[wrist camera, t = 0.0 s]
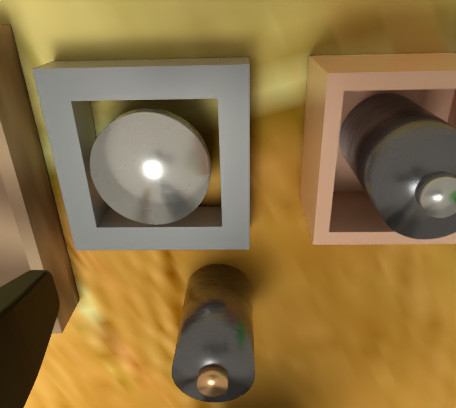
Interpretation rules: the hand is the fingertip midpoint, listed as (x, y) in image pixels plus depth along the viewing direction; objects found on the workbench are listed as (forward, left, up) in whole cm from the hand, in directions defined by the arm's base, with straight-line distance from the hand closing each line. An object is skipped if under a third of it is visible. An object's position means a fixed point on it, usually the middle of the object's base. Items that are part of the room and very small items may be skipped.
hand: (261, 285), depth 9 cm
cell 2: (-1, -7, -14) cm, 16 cm away
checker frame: (-2, +5, -15) cm, 16 cm away
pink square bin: (-1, -7, -15) cm, 16 cm away
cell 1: (-12, +2, -15) cm, 19 cm away
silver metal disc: (-2, +5, -13) cm, 14 cm away
